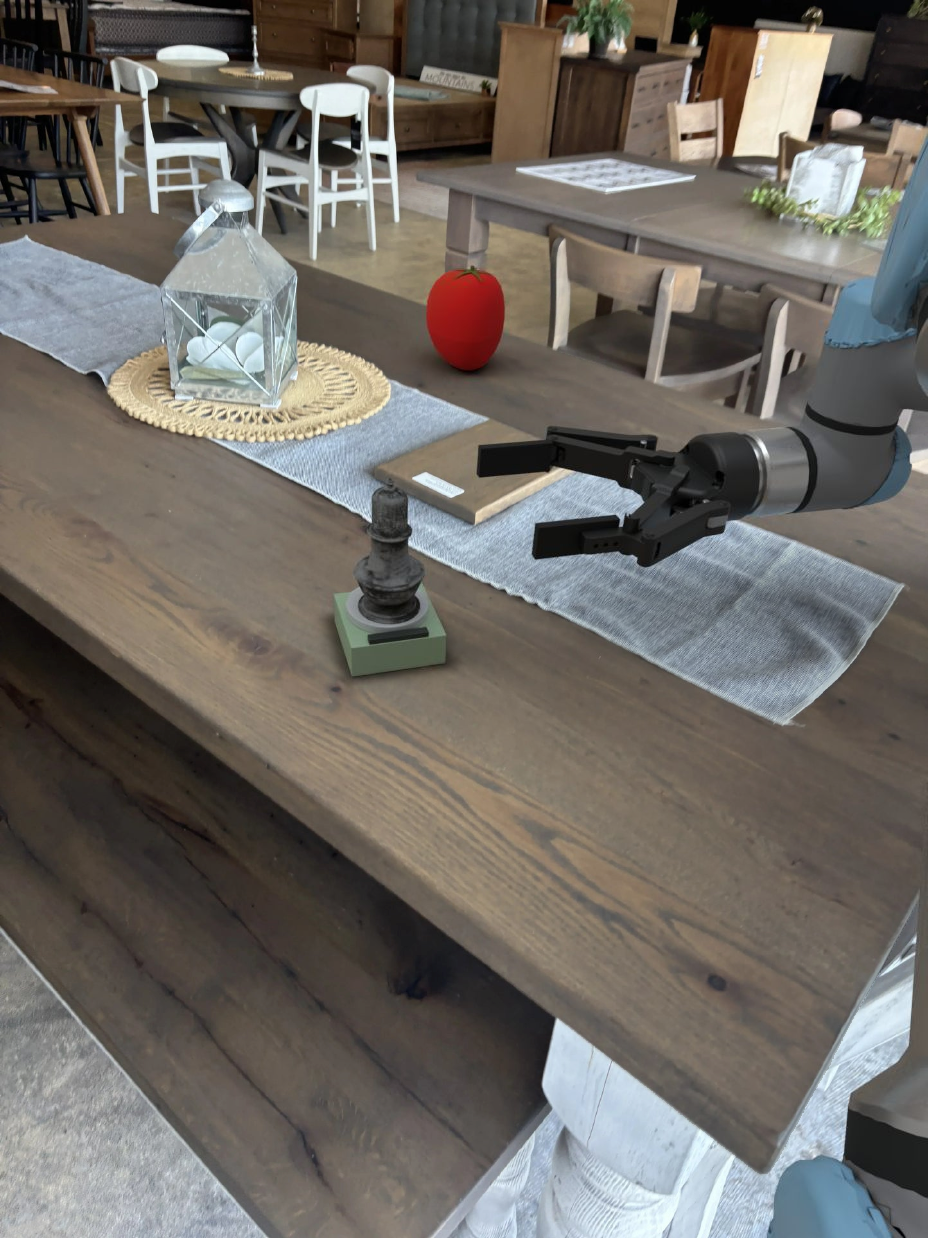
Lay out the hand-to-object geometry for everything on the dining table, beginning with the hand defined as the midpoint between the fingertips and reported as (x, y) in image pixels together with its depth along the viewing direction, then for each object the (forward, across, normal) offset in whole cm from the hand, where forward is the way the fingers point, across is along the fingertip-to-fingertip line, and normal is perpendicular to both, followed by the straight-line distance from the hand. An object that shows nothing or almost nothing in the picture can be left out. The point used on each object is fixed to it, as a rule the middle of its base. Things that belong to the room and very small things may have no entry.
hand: (504, 498), depth 72 cm
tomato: (-17, +65, -14) cm, 69 cm away
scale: (+9, +2, -14) cm, 17 cm away
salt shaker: (+9, +2, -10) cm, 14 cm away
